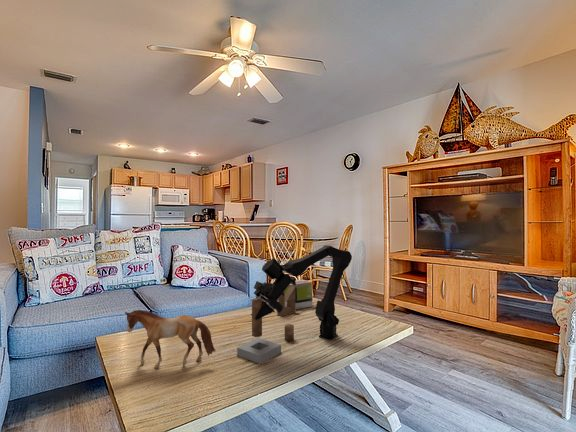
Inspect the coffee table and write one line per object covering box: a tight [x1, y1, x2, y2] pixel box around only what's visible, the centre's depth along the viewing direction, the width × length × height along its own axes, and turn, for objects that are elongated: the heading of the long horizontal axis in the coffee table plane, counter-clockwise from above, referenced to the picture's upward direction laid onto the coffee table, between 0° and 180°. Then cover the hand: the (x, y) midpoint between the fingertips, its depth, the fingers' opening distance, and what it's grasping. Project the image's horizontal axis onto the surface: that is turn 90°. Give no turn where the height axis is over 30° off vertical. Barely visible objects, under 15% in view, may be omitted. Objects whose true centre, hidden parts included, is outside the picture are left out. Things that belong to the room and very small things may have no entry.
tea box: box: [285, 279, 313, 310], centre depth 182 cm, size 15×10×15 cm, turn 115°
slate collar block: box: [236, 337, 282, 365], centre depth 118 cm, size 12×12×3 cm
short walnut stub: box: [284, 323, 295, 342], centre depth 132 cm, size 4×4×6 cm
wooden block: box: [276, 286, 296, 317], centre depth 168 cm, size 4×11×18 cm, turn 135°
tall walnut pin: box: [251, 297, 263, 338], centre depth 120 cm, size 4×4×14 cm
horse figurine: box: [124, 309, 217, 369], centre depth 109 cm, size 31×8×21 cm, turn 96°
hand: (253, 317), depth 120 cm, fingers closed on tall walnut pin, 4 cm apart
